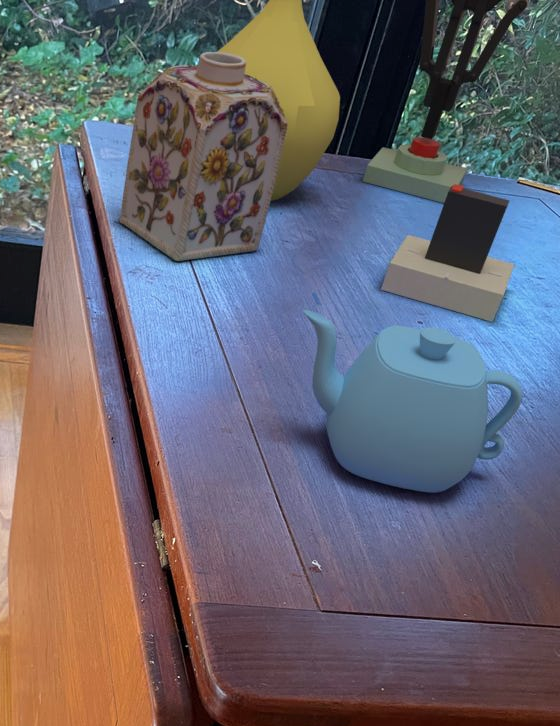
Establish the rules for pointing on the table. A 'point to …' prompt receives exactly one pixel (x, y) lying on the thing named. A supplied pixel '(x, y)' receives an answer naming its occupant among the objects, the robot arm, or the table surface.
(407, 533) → the table surface
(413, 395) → the teapot
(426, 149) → the power button
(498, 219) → the dark grey block
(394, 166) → the block
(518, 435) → the table surface
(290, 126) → the vase
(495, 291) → the beige flat block
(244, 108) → the decorative jar
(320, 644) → the table surface
